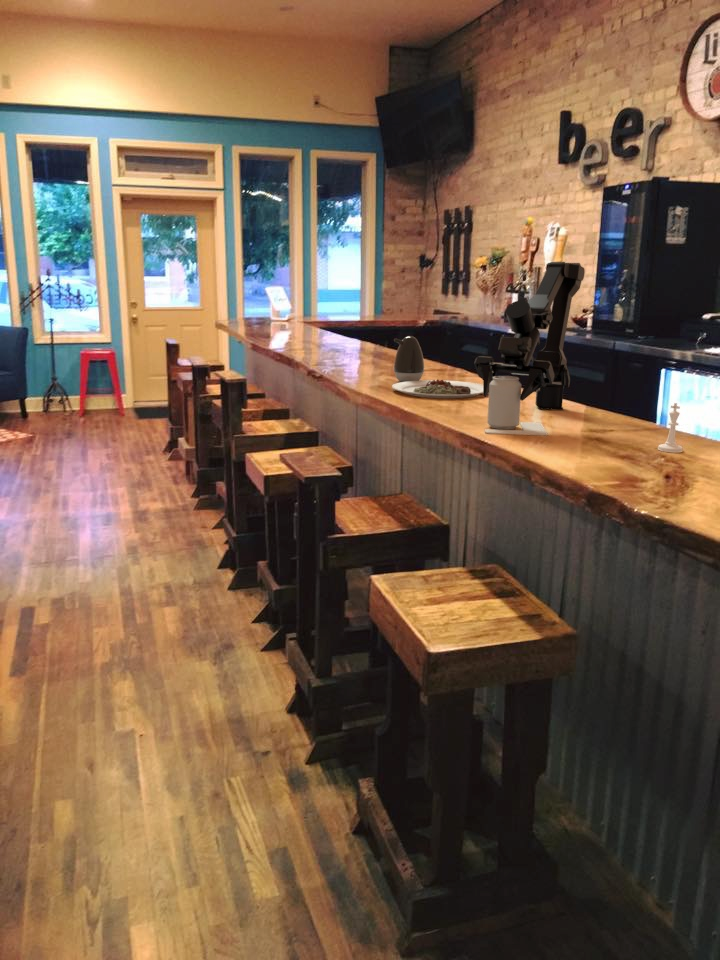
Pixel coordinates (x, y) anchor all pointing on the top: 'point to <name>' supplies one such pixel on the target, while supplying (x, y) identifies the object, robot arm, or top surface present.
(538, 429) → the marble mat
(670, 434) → the chess piece
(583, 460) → the top surface
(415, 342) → the pump dispenser
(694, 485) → the top surface
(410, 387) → the plated food
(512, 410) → the can
